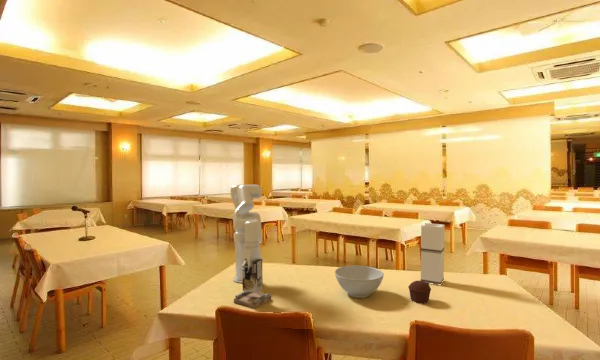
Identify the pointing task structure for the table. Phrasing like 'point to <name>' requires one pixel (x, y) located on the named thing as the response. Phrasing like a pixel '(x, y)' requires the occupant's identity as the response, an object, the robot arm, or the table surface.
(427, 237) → the mini fridge
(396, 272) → the table surface
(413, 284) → the muffin
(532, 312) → the table surface
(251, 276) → the coffee box
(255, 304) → the stand
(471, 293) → the table surface
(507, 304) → the table surface
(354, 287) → the decorative bowl
